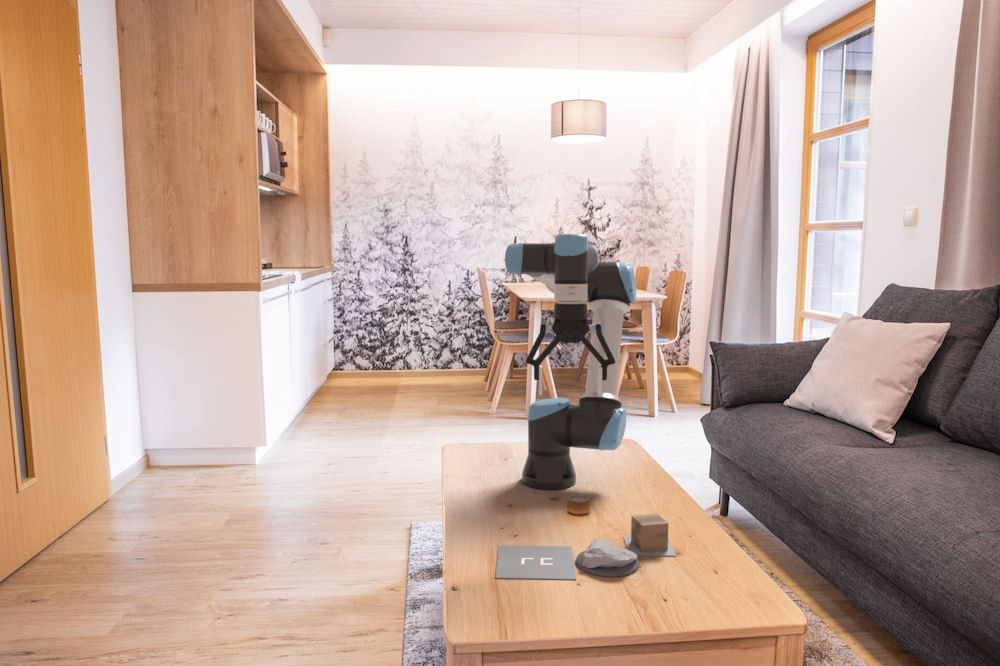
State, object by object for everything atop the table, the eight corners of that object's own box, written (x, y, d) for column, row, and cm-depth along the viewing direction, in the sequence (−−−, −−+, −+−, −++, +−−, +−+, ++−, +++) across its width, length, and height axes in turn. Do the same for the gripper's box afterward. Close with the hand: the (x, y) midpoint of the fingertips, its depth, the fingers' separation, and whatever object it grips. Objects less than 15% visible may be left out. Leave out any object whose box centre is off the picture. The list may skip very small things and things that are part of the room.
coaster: (574, 550, 160) (574, 547, 160) (634, 551, 160) (634, 548, 160) (578, 576, 148) (578, 573, 147) (643, 577, 147) (643, 574, 147)
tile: (623, 537, 167) (623, 536, 167) (667, 538, 167) (667, 537, 167) (629, 555, 157) (629, 554, 157) (676, 556, 157) (676, 555, 157)
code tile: (498, 546, 163) (498, 545, 163) (571, 547, 162) (571, 546, 162) (495, 578, 147) (495, 577, 147) (576, 579, 146) (576, 578, 146)
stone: (641, 553, 157) (641, 537, 157) (628, 575, 146) (629, 558, 146) (594, 546, 161) (594, 530, 161) (579, 567, 150) (579, 551, 150)
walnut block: (631, 541, 164) (631, 515, 164) (656, 539, 166) (656, 513, 165) (641, 552, 159) (642, 525, 158) (667, 549, 160) (668, 523, 159)
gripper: (515, 303, 165) (515, 397, 167) (628, 303, 163) (626, 397, 166) (516, 301, 172) (516, 390, 174) (623, 301, 171) (622, 391, 173)
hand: (570, 394), depth 170 cm, fingers open, 13 cm apart
